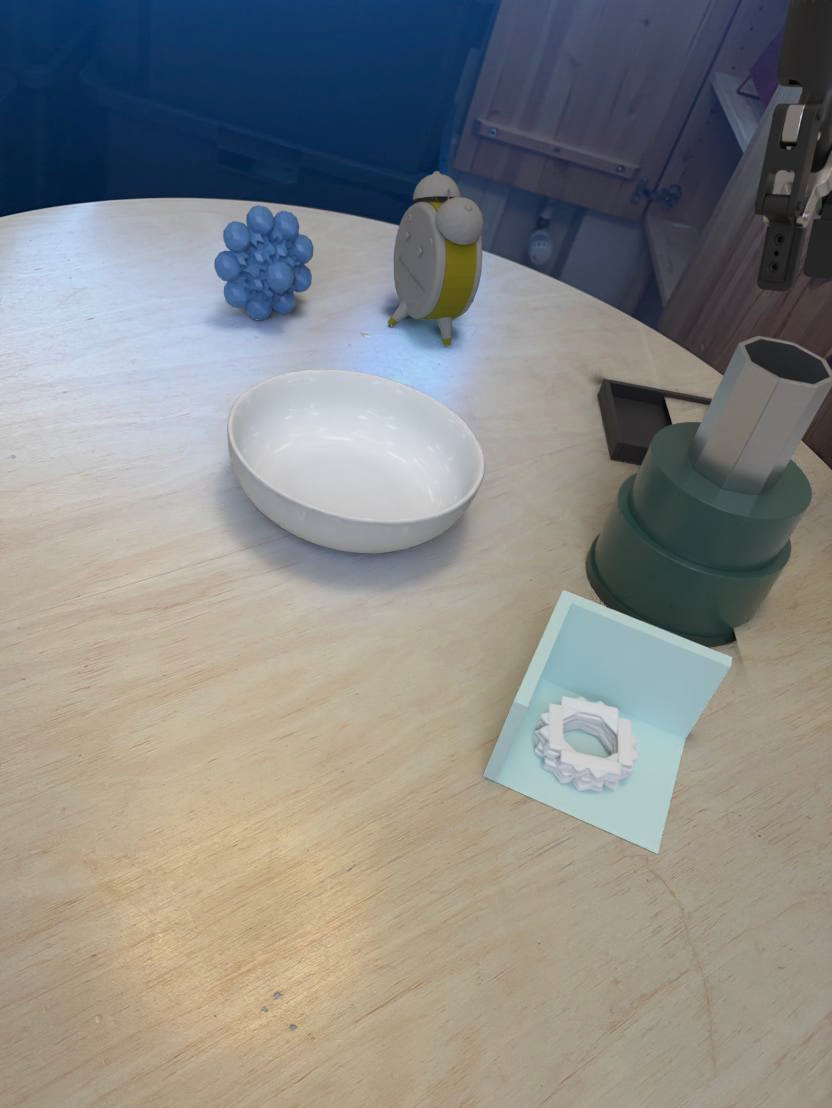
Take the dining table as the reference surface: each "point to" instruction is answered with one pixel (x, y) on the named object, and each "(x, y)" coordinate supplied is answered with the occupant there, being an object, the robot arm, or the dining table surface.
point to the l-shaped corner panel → (605, 718)
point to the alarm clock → (437, 254)
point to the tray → (635, 417)
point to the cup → (759, 414)
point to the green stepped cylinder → (693, 544)
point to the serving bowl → (353, 459)
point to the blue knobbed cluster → (264, 262)
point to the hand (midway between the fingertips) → (798, 283)
